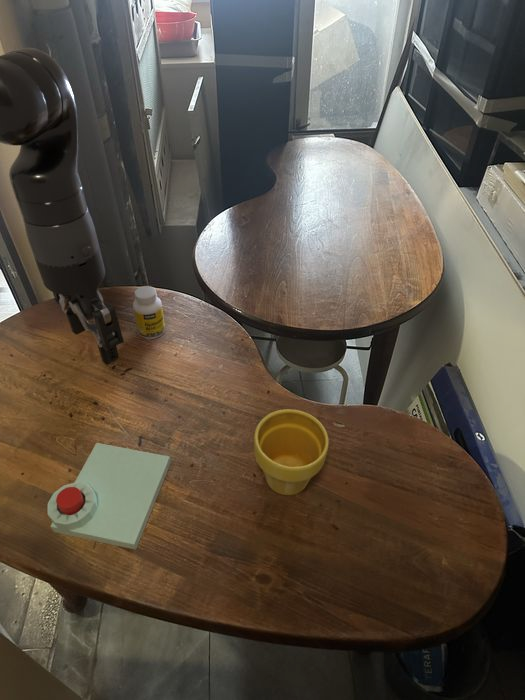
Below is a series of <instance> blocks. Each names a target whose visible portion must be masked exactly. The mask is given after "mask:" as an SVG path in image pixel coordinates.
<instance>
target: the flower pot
mask: <svg viewBox="0 0 525 700" xmlns="http://www.w3.org/2000/svg"><path fill="white" fill-rule="evenodd" d="M259 421H260V422H259V423H258V424H257V426H256V428H255V430H254V435H253V452H254V453H253V454H254V457H255V460H256V461H255V462H257V464H258V466H259V467H260V468H261V470H262V472H263V476H264V479H265V482H266V484H267V486H268V487H269V488H270V489H271V490H272V491H273V492H275V493H277V494H278V495H282V496H294V495H297V494H300V493H301V492H302V491H303V490H305V489H306V487H307V486H308V484H309V482H310V481H311V479H312V478H313V477H314V476H316V475H317V474H318V473H319V472H320V471H321V470H322V468H323V467H324V464H325V462H326V458H327V455H328V452H329V444H330V443H329V442H330V440H329V435H328V432H327V430H326V428H325V427H324V425H323V424H322V422H321V421H319V419H317V417H315V416H313V415H311V414H310V413H308V412H306V411H303V410H300V409H299V410H298V409H290V408H288V409H278V410H275V411H272V412H270V413H268V414H267V415H266V416H264V417H263V418H262V419H261V420H259Z"/></svg>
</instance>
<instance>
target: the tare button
mask: <svg viewBox="0 0 525 700" xmlns="http://www.w3.org/2000/svg"><path fill="white" fill-rule="evenodd" d="M56 503H57V505H58V507H59V509H60V511H61V512H62V513H63V514H66V515H71V514H74V513H76V512H78V511H79V510H80V509H81V508H82V506H83V504H84V498H83V496H82V494H81V492H80V490H79V489H78V488H76V487H67V488H65V489H63V490H62V491H61V492H60V493H59V494H58V495H57V498H56Z"/></svg>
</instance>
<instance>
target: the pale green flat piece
mask: <svg viewBox="0 0 525 700" xmlns="http://www.w3.org/2000/svg"><path fill="white" fill-rule="evenodd" d="M171 464H172V461H171V457H170V455H169V456H168V455H164V454H158V453H152V452H147V451H143V450H137V449H132V448H126V447H120V446H115V445H110V444H105V443H99V442H96V443H95V445H94V446H93V448H92V450H91V452H90V453H89V455H88V457H87V459H86V460H85V463H84V465H83V466H82V468H81V470H80V472H79V474H78V475H77V477H76V479H75V481H74V482H72V483H68V484H64V485H62V486H61V487H60V488H59V489H57V490H56V491H54V492H53V493H52V495H51V497H50V499H49V500H48V502H47V516H48V517H49V520H50V521H51V524H50V528H51V529H52V532H53V533H56V534H61V535H66V536H70V537H75V538H80V539H84V540H88V541H93V542H97V543H102V544H107V545H112V546H116V547H121V548H125V549H129V550H135V551H136V550H137V549H138V546H139V544H140V541H141V538H142V536H143V534H144V531H145V529H146V527H147V524H148V521H149V519H150V516H151V514H152V511H153V509H154V506H155V504H156V501H157V498H158V496H159V494H160V491H161V488H162V487H163V484H164V482H165V478H166V477H167V473H168V472H169V469H170V466H171ZM67 487H76V488H78V489H79V490H80V492H81V494H82V496H83V498H84V504H83V506H82V508H81V509H80V510H79V511H78V512H76V513H74V514H71V515H66V514H63V513H62V512H61V511H60V509H59V507H58V505H57V503H56V498H57V495H58V494H59V493H60V492H61V491H62V490H63V489H65V488H67Z"/></svg>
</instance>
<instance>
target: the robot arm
mask: <svg viewBox="0 0 525 700" xmlns="http://www.w3.org/2000/svg"><path fill="white" fill-rule="evenodd" d="M78 127H79V126H78V112H77V105H76V99H75V95H74V91H73V89H72V86H71V83H70V80H69V79H68V77H67V75H66V73H65V71H64V70H63V69H62V67H61V66H60V65H59V63H58V62H57V61H56V60H55V59H54V58H53V57H52V56H51V55H50V54H49V53H46V52H44V51H42V50H40V49H38V48H34V47H21V48H17V49H14V50H11V51H9V52H7V53H6V52H5V54H1V55H0V144H4V145H7V146H20V149H19V153H18V154H17V156H16V158H15V159H14V161H13V163H12V164H11V166H10V168H9V172H8V177H9V181H10V185H11V188H12V192H13V195H14V198H15V201H16V203H17V207H18V209H19V211H20V215H21V217H22V220H23V223H24V224H23V225H24V230H25V231H24V232H25V236H26V238H27V242H28V244H29V247H30V249H31V252H32V255H33V259H34V261H35V264H36V267H37V271H38V272H39V275H40V278H41V281H42V283H43V285H44V287H45V288H46V289H47V290H48V291H50V292H52V296H53V298H54V302H55V303H56V304H57V305H60V306H61V311H62V312H63V313H64V314H65V315H66V317H67V321H68V324H69V326H70V329H71V332H72V333H73V334H74V335H80V334H81V333H83V332H86V333H90V334H91V335H92V337H93V338H94V340H95V341H94V342H95V343H96V345H97V349H98V352H99V355H100V359H101V362H102V363H103V364H104V365H105V366H109V365H111V364H113V363H114V362H116V361H118V360H119V359H120V355H119V351H118V347H117V346H118V345H121V344H123V343H124V341H125V340H124V337H123V333H122V330H121V326H120V323H119V319H118V314H117V312H116V308H115V306H114V305H113V304H112V303H109V304H107V305H105V303H104V297H103V295H102V293H101V291H100V290H99V286H100V285H101V283H102V282H103V281H104V279H105V276H106V268H105V264H104V260H103V256H102V252H101V248H100V244H99V240H98V235H97V231H96V227H95V224H94V221H93V218H92V216H91V214H90V211H89V208H88V205H87V200H86V197H85V192H84V188H83V185H82V181H81V176H80V174H79V134H78V133H79V131H78V130H79V129H78ZM90 320H93V322H94V323H90V322H89V321H90Z"/></svg>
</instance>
